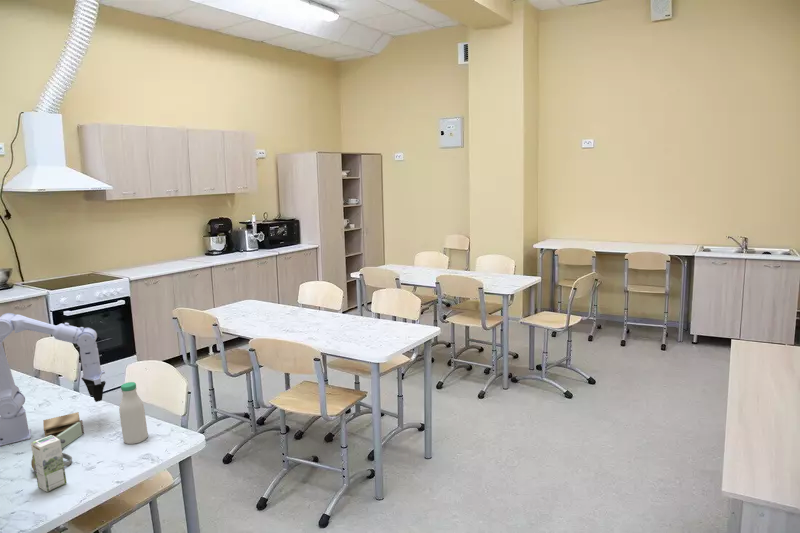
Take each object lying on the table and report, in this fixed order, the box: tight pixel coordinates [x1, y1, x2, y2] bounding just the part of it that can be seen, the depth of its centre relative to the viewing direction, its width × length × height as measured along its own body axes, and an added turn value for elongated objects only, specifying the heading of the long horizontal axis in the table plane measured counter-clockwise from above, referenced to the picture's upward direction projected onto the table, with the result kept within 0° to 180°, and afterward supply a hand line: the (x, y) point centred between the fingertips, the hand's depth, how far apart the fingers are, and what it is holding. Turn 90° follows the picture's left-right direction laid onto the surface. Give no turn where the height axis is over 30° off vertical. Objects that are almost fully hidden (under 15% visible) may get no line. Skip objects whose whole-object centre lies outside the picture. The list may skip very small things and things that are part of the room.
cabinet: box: [43, 411, 85, 438], centre depth 206 cm, size 12×9×5 cm
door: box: [56, 422, 83, 449], centre depth 199 cm, size 10×2×5 cm, turn 171°
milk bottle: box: [119, 381, 148, 445], centre depth 197 cm, size 8×8×20 cm
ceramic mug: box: [30, 452, 73, 472], centre depth 182 cm, size 11×8×8 cm
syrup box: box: [30, 435, 67, 493], centre depth 171 cm, size 6×6×14 cm
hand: (95, 397), depth 211 cm, fingers open, 7 cm apart
